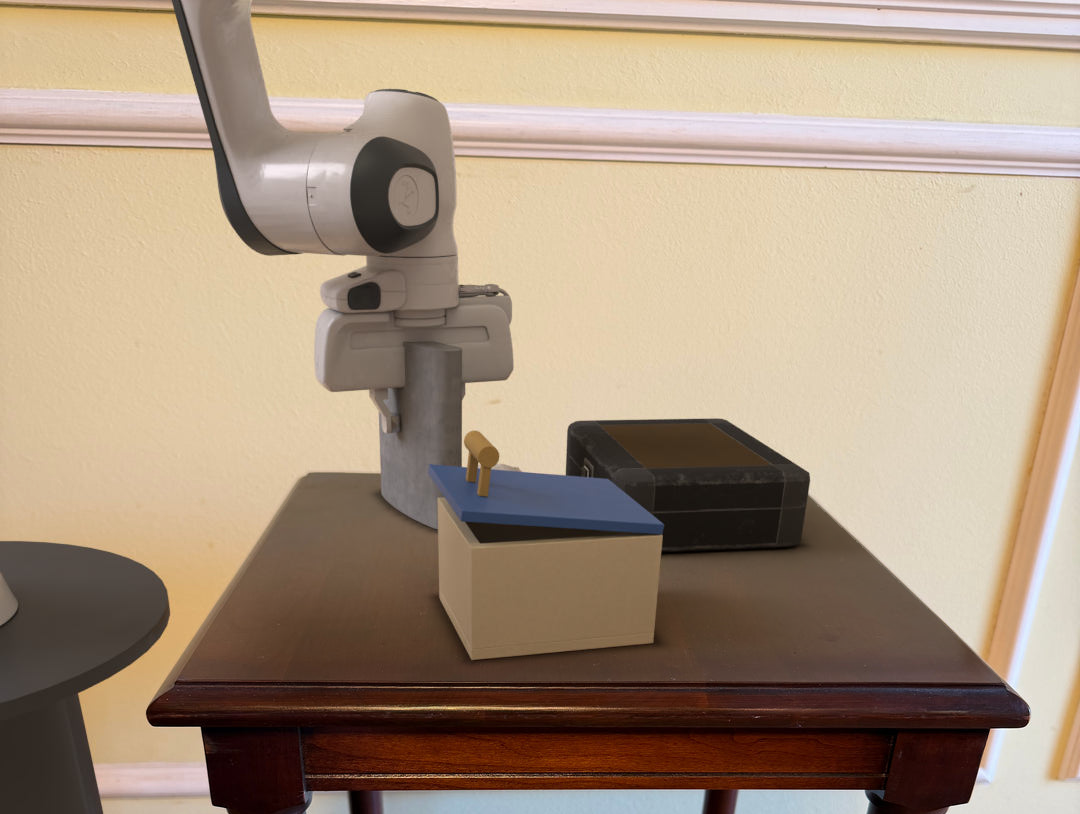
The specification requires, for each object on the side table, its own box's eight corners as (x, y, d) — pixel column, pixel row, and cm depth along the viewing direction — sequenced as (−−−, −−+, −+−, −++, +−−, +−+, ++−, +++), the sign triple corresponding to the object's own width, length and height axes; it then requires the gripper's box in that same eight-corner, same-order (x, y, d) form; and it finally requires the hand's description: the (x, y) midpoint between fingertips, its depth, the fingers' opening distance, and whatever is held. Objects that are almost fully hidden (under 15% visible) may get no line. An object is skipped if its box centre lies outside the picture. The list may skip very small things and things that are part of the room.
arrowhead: (513, 452, 125) (547, 481, 118) (513, 466, 126) (547, 496, 119) (461, 458, 123) (493, 488, 115) (461, 473, 124) (493, 504, 116)
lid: (460, 521, 72) (468, 456, 70) (428, 473, 83) (433, 416, 81) (662, 534, 77) (675, 474, 75) (606, 488, 88) (616, 434, 86)
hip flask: (467, 528, 105) (468, 322, 96) (431, 533, 103) (429, 323, 94) (402, 489, 117) (398, 302, 108) (369, 493, 115) (362, 303, 106)
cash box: (556, 486, 120) (559, 419, 117) (720, 481, 124) (727, 416, 120) (610, 557, 99) (615, 478, 95) (806, 549, 102) (818, 473, 99)
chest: (471, 660, 77) (470, 547, 73) (439, 598, 88) (437, 497, 84) (653, 643, 81) (663, 535, 77) (601, 585, 92) (607, 488, 88)
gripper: (500, 280, 106) (500, 415, 113) (303, 285, 98) (316, 430, 105) (524, 286, 101) (522, 428, 108) (318, 293, 93) (331, 445, 100)
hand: (419, 429), depth 106 cm, fingers open, 5 cm apart
